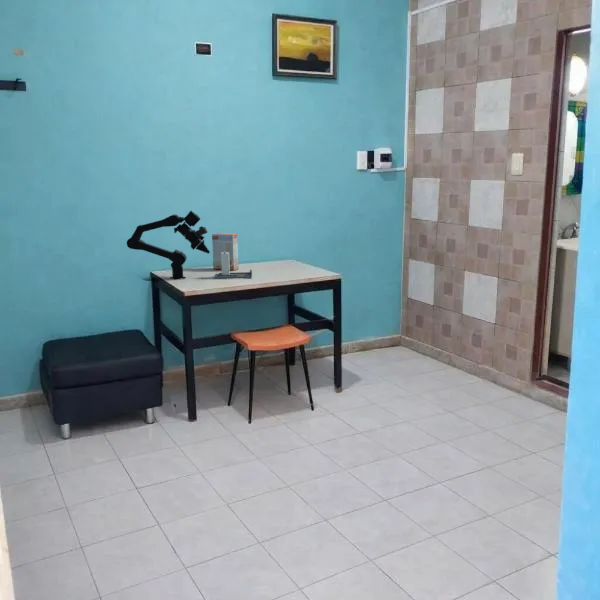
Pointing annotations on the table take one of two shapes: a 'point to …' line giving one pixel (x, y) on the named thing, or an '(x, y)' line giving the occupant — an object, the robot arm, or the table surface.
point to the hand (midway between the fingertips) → (209, 252)
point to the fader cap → (225, 263)
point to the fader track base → (234, 275)
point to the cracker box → (225, 249)
